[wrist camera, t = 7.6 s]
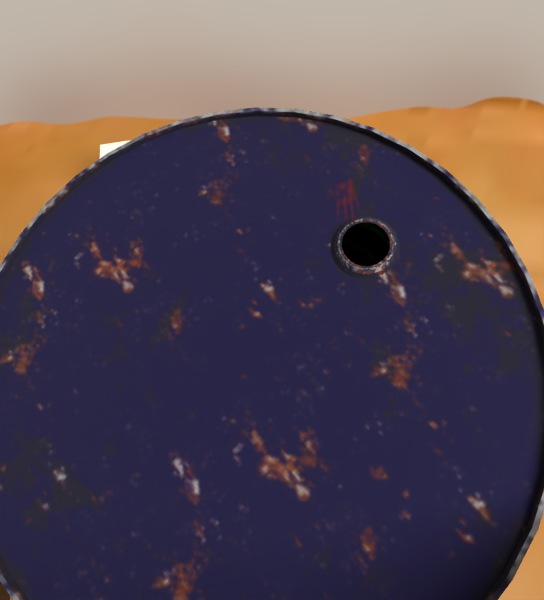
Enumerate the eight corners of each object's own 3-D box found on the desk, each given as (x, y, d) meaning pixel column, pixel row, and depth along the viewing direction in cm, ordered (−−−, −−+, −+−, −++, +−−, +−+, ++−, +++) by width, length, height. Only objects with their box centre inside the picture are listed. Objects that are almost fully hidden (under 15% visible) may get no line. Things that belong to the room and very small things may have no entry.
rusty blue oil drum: (287, 564, 19) (196, 951, 5) (154, 398, 22) (-147, 350, 8) (442, 408, 21) (720, 372, 6) (298, 267, 23) (264, 17, 9)
